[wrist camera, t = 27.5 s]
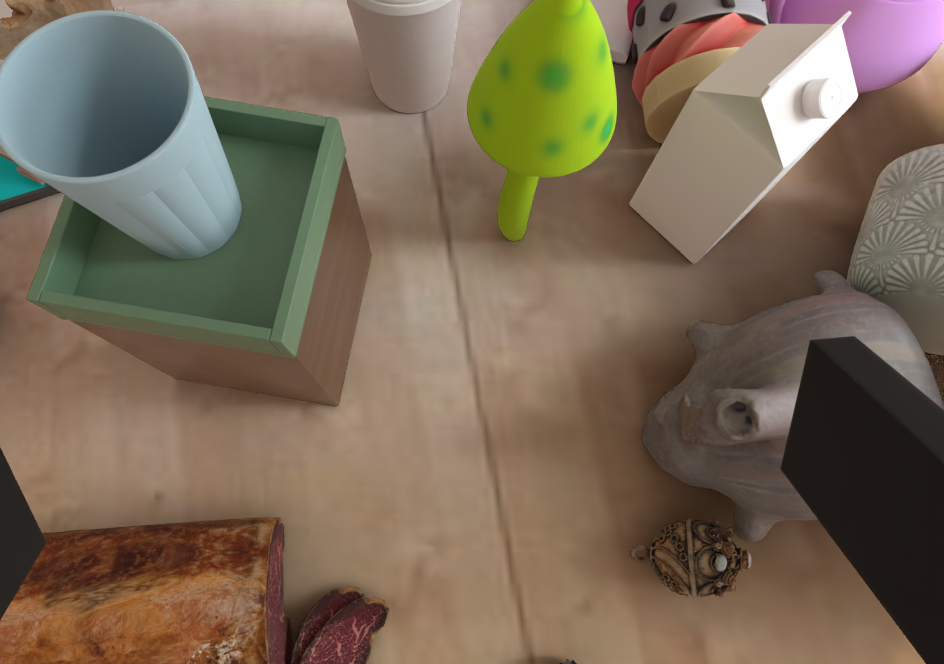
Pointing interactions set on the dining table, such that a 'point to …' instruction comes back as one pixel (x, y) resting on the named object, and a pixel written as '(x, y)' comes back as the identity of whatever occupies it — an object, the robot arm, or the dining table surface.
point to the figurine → (39, 17)
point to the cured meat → (177, 601)
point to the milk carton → (745, 132)
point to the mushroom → (543, 101)
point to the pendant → (695, 558)
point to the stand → (322, 334)
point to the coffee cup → (407, 49)
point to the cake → (684, 49)
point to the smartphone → (19, 186)
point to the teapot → (874, 34)
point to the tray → (225, 270)
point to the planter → (906, 244)
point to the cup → (120, 130)
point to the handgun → (568, 662)
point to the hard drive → (615, 27)
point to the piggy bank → (766, 397)
